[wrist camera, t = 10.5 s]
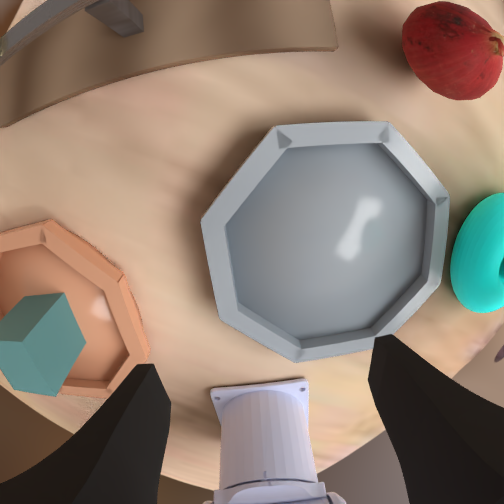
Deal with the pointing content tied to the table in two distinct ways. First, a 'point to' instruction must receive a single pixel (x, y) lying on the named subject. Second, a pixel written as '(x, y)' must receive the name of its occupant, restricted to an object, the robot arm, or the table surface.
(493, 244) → the donuts
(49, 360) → the teal block
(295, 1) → the stand
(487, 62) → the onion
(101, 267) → the terracotta dish
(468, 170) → the table surface
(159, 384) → the robot arm
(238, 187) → the slate dish
